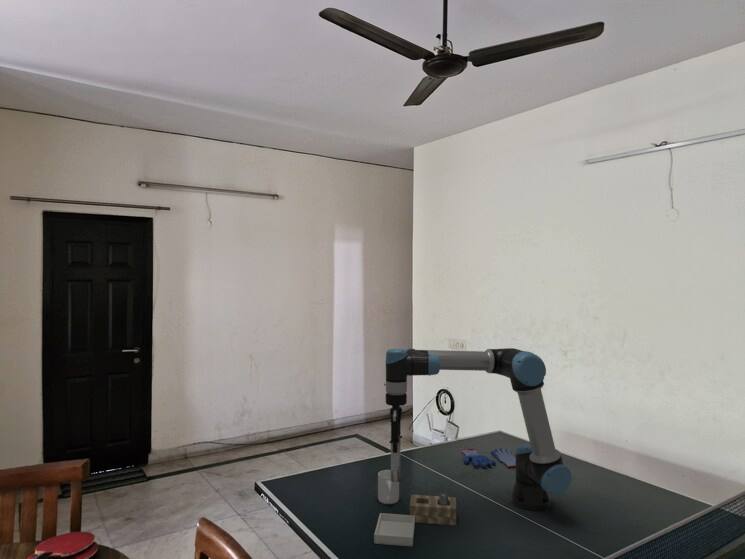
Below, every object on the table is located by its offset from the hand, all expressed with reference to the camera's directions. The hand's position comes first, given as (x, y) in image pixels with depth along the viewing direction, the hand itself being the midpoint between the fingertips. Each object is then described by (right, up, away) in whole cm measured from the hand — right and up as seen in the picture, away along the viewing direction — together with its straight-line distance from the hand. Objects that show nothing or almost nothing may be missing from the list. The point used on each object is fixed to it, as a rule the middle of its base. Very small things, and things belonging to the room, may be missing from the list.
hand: (395, 458), depth 175 cm
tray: (0, -26, 0) cm, 26 cm away
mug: (-2, -27, +25) cm, 37 cm away
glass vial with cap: (0, -8, 0) cm, 8 cm away
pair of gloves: (+53, -28, +74) cm, 95 cm away
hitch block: (+15, -26, +12) cm, 32 cm away
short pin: (+19, -26, +11) cm, 34 cm away
